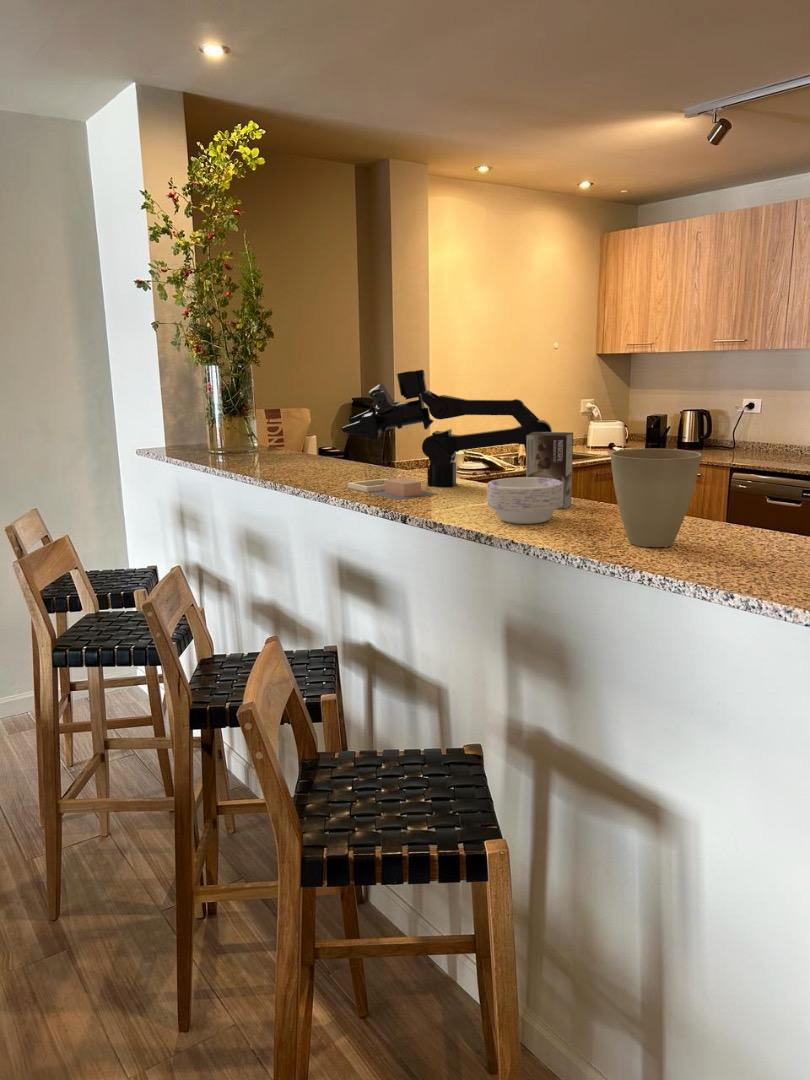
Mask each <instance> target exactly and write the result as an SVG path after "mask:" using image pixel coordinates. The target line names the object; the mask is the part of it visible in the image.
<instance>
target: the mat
mask: <svg viewBox="0 0 810 1080" xmlns="http://www.w3.org/2000/svg"><path fill="white" fill-rule="evenodd" d="M385 480H389V478H380V479H379V478H378V479H371V480H363V481H352V482H348V483H347V486H343V488H345V489H349V490H354V491H358V492H362V493H366V494H370V495H375V496H379V497H384V498H388V499H391V500H397V501H400V500H409V499H415V498H416V499H418V498H423V497H431V496H436V495H437V496H438V495H439V493H434V492H431V491H426V490H421V495H413V496H406V497H403V496H399V495H394V494H390V493H385Z"/></svg>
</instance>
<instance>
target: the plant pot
mask: <svg viewBox="0 0 810 1080" xmlns="http://www.w3.org/2000/svg"><path fill="white" fill-rule="evenodd" d="M701 459H702V453H700V452H697V451H692V450H687V449H686V450H685V449H675V448H674V449H673V448H631V449H630V448H628V449H618V450H614V451H612V452H610V464H611V473H612V480H613V487H614V492H615V496H616V502H617V506H618V510H619V511H618V512H619V514H620V517H621V518H620V519H621V521H622V525H623V529H624V531H625V535H626V537H627V540H628V543H629V542H630V543H631V545H632V544H634V545H633V546H635V545H637V546H636V547H639V546H644V547H643V548H646V547H664V548H667V547H666V546H669V547H671V546H673V545H674V543H675V540H676V538H677V536H678V534H679V532H680V529H681V527H682V525H683V522H684V520H685V516H686V514H687V512H688V508H689V505H690V502H691V500H692V496H693V492H694V490H695V487H696V481H697V478H698V473H699V469H700V464H701ZM630 543H629V544H630ZM672 544H673V545H672Z"/></svg>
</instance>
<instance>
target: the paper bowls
mask: <svg viewBox="0 0 810 1080" xmlns="http://www.w3.org/2000/svg"><path fill="white" fill-rule="evenodd" d="M486 487H487V488H486V497H487V498H486V499H487V500H486V501H487V507H488V508H490V509H494V510H495V512H496V514H497V517H498V519H500V520H501V521H502V522H505V523H510V524H516V525H533V524H542V523H545V522H547V521H549V520H550V519H551V518H552V516H553V514H554V512H555V510H557V509H559V508H560V507H561V506H563V482H562V481H559V480H556V479H550V478H539V477H526V476H521V477H518V476H517V477H505V478H499V479H493V480H490V481H489V482H487V484H486Z"/></svg>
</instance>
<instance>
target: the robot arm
mask: <svg viewBox="0 0 810 1080" xmlns="http://www.w3.org/2000/svg"><path fill="white" fill-rule="evenodd" d="M425 375H426V374H425V370H424V369H419V370H415V371H413V370H409V371H403V372H399V373H397V374H396V377H397V383H398V388H399V392H400V393H399V394H400V396H401V397H402V396H403V398H405V400H410V401H405V402H400V401H398V400H396V401H394V400H393V399H392V397H391V395H390V393H389V392H388V390H387V388H386V387H385V385H384V384H383V383H379V384H378V385H376V386H374V387H373V388H372V389H370V390H369V391H368V395H369V397H370V398H371V399H372V400H373V404H372V405H371V407H370V408H369V409H368V410H366V411H364V412H362V413H360V414H358V415H355V416H353V417H351V418H350V419H349V421H350V422H349V423H351V424H347V425H345V426H343V427H341V431H342V433H344V434H349V435H353V436H356V437H360V438H363V439H365V440H368V442H370V441H377V439H379V437H380V435H381V434H382V432H387V431H388V430H389V429H394V428H397V429H398V430H399V429H400V430H401V429H403V427H404V426H405V427H407V426H410V425H415V424H421V423H422V424H423V428H424V430H428V429H429V428H430V427H431V425H432V424H433V423H434V422H435V420H446V419H452V418H456V417H462V416H463V417H464V416H512V417H513V418H514V419H515V421H517V423H518V424H519V425H518V426H516V427H512V428H506V429H505V428H504V429H497V430H490V431H483V432H476V433H475V432H473V433H466V434H465V433H464V434H452V428H450V429H446V430H443V431H440V430H436V431H432V433H431V435H429V436H426V438H424V440H423V442H422V444H421V450H422V453H423V454H424V455H425V456H426V457H427V458H428V460H429V464H428V465H429V467H428V468H427V470H426V471H427V478H426V479H427V480H426V481H427V487H431V488H432V487H433V488H454V487H455V486H457V485H458V483H457V462H454V461H455V459H456V456H457V452H460V451H464V450H465V451H466V450H473V449H482V448H489V447H491V448H492V447H499V446H505V445H515V444H516V445H523V446H527V435H528V434H530V433H532V432H553V429H552V426H551V424H550V423H549V422H548V421H546V420H543V419H539V417H538V416H536V414H535V413H534V412H533V411H532V410H530V408H528V407H527V406H526V405H525V403H524V402H523V401H522V400H521V399H518V398H514V399H466V398H460V397H456V396H452V395H451V396H450V395H446V394H442V395H438V394H436V393H434V392H432V391H430V390H427V389H428V388H427V385H426V378H425V377H426V376H425ZM416 398H418V399H417V400H416ZM411 399H415V400H411ZM425 405H426V406H427V407H426V406H425ZM430 415H431V417H430ZM432 417H433V418H434V419H435V420H434V419H432Z"/></svg>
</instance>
